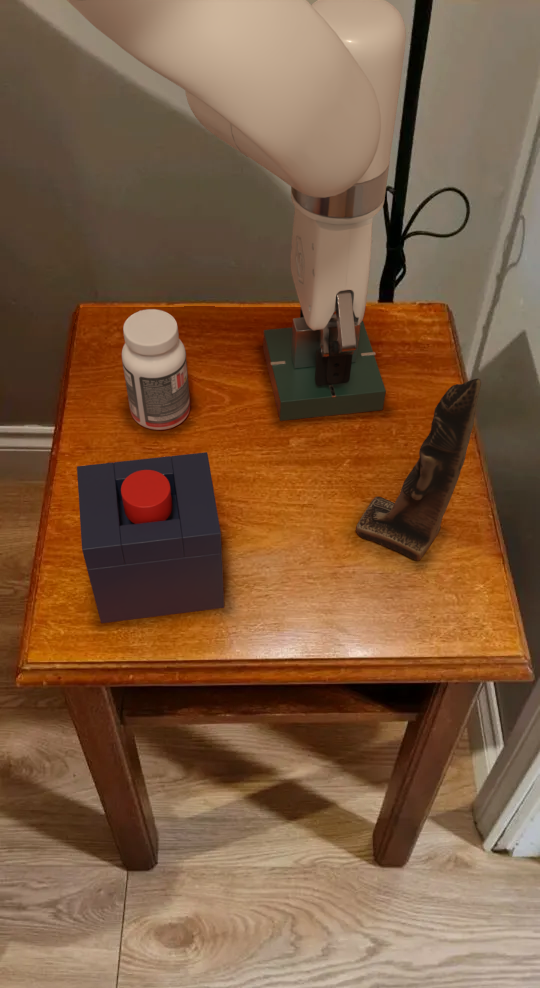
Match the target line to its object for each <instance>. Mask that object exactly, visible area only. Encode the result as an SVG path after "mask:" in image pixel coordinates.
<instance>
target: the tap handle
mask: <svg viewBox="0 0 540 988" xmlns="http://www.w3.org/2000/svg"><path fill="white" fill-rule="evenodd" d="M331 318H336V313H334V314H333V315H332V317H331ZM291 327H292V347H291V358H292V361H293V365H294V368H304V367H313V366H316V357H317V349H320V348H321V334H320V330H312V329H311V328H310V327H309V326H308V325H307V324H306V321H305V319H304V317H302V318H300V317H294V318H292V326H291ZM354 327H355V337H356V350H355V351H354V353H353V356H352V362H356V356H357V348H358V341H359V333H360V324H359V325H358V326H356V325H355V324H354ZM337 339H338V328H329V342H331V341H335V340H337Z"/></svg>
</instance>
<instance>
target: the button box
mask: <svg viewBox="0 0 540 988" xmlns="http://www.w3.org/2000/svg"><path fill="white" fill-rule="evenodd" d="M210 465H211V464H210V460H209V454H208V452H206V451H205V452H195V453H188V454H187V453H186V454H178V455H167V456H160V457H159V456H158V457H150V458H141V459H131V460H123V461H122V460H121V461H114V462H105V463H95V464H94V463H93V464H86V465H78V466H76V475H77V491H78V492H77V493H78V507H79V508H78V509H79V523H80V540H81V551H82V555H83V558H84V563H85V567H86V571H87V575H88V578H89V582H90V585H91V589H92V593H93V597H94V601H95V605H96V609H97V612H98V616H99V620H100V623H101V624H105V623H113V622H121V621H132V620H138V619H139V620H140V619H145V618H152V617H153V618H154V617H163V616H171V615H177V614H178V615H179V614H184V613H185V614H186V613H193V612H201V611H209V610H217V609H224V608H225V596H224V573H223V571H224V570H223V550H222V549H223V548H222V531H221V525H220V520H219V513H218V507H217V501H216V496H215V490H214V484H213V478H212V472H211V466H210ZM141 470H153V471H157V472H159V473H161V474H163V475H164V476H165V477H166V478H167V479H168V481H169V483H170V489H171V498H172V512H171V514H170V515H169V517H168V518H167V519H166V520H165V521H157V522H148V523H139V524H134V523H133V522H131V521H130V520H129V519H128V518H127V516H126V514H125V511H124V505H123V500H122V495H121V486H122V483H123V481H124V480H125V479H126V478H127V477H128V476H129V475H131V474H132V473H134V472H137V471H141Z"/></svg>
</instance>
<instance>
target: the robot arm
mask: <svg viewBox="0 0 540 988" xmlns="http://www.w3.org/2000/svg"><path fill="white" fill-rule="evenodd" d="M66 1H67V2H68V3H69V4H70V5H71V6H72V7H73V8H74V9H75V10H76V11H77V12H78V13H80V14H81V16H82V17H84V19H86V20H87V21H88V22H89V23H90V24H91V25H92V26H93V27H95V28H96V29H97V30H98V31H99V32H101V33H102V34H103V35H105V36H106V37H107V38H108V39H110V40H111V41H112V42H114V43H115V44H116V45H117V46H118V47H119V48H120V49H122V50H124V51H125V52H126V53H127V54H129V55H130V56H131V57H133V58H134V59H136V61H138V62H140V63H141V64H143V65H144V66H146V67H147V68H148V69H150V70H151V71H154V72H155V73H156V74H159V75H160V76H161V77H163V78H165V79H166V80H168V81H169V82H171V83H173V84H175V85H176V86H178V87H180V88H181V89H183V90H184V91H185V98H186V101H187V103H188V106H189V108H190V110H191V112H192V113H193V115H194V117H195V118H196V119H197V121H198V122H199V123H200V124H201V125H202V127H204V128H205V129H206V130H208V132H210V133H211V134H212V135H213V136H215V137H216V138H218V139H220V140H221V141H223V142H224V143H226V144H227V145H228V146H230V147H231V148H233V149H235V150H236V151H238V152H239V153H240V154H241V155H243V156H245V157H246V158H249V159H251V160H252V161H254V162H255V163H257V164H258V165H260V166H261V167H263V168H264V169H265V170H267V171H268V172H270V173H272V174H273V175H274V176H276V177H277V178H278V179H280V180H281V181H283V182H284V183H286V184H287V185H288V186H290V199H291V202H292V204H293V206H294V213H293V222H292V223H293V224H292V233H291V245H290V257H289V265H290V273H291V277H292V281H293V285H294V287H295V292H296V296H297V299H298V302H299V305H300V311H299V318H302V317H304V319H305V321H306V324H307V325H308V326H309V327H310V328H311V329H312V330H320V334H321V348H320V349H317V357H316V370H315V383H316V385H317V386H323V385H332V384H342V383H347V382H348V381H349V380H350V372H351V364H352V356H353V353H354V351H355V350H356V337H355V327H354V324H355V325H356V326H358V325H359V324H360V323H361V322H362V321H363V320H364V316H365V313H366V307H367V300H368V291H369V282H370V273H371V271H370V270H371V256H372V244H373V220H374V219H373V218H374V216H376V215H377V214H378V213H379V212H380V211H381V209H382V208H383V207H384V204H385V200H386V198H385V197H386V193H387V183H388V177H389V170H390V161H391V154H392V146H393V140H394V139H393V138H394V132H395V125H396V118H397V111H398V103H399V95H400V87H401V80H402V74H403V66H404V65H403V64H404V59H405V58H404V57H405V51H406V40H407V32H406V31H407V30H406V29H407V28H406V25H405V21H404V19H403V16H402V15H401V13H400V11H399V10H398V9H397V8H396V7H395V6H394V5H393V4H391V3H390V2H389V1H388V0H316V1H314V2H312V3H310V2H309V1H308V0H66ZM333 314H336V318H331V317H332V315H333ZM329 328H338V339H337V340H335V341H331V342H329Z"/></svg>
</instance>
